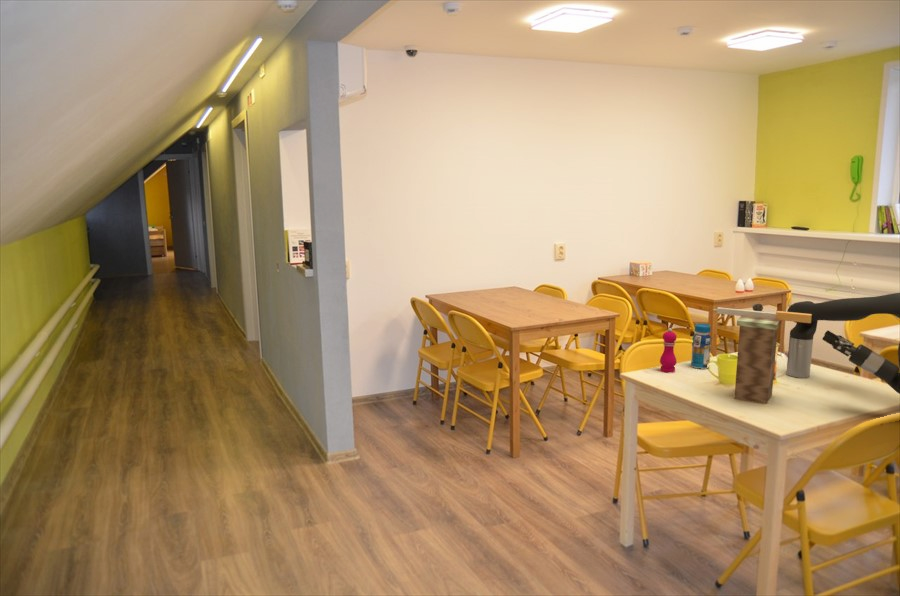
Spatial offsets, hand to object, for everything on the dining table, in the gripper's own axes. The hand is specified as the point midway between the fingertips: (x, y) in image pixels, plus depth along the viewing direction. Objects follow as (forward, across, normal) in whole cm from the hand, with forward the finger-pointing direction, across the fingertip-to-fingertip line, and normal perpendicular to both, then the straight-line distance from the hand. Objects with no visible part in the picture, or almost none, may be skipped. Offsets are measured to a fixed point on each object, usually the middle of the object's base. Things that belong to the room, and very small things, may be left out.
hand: (824, 334), depth 250 cm
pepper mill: (+41, -14, +54) cm, 69 cm away
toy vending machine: (+15, -53, +39) cm, 68 cm away
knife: (+22, 0, +7) cm, 23 cm away
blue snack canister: (+32, -28, +48) cm, 64 cm away
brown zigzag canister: (+7, +3, +35) cm, 36 cm away
